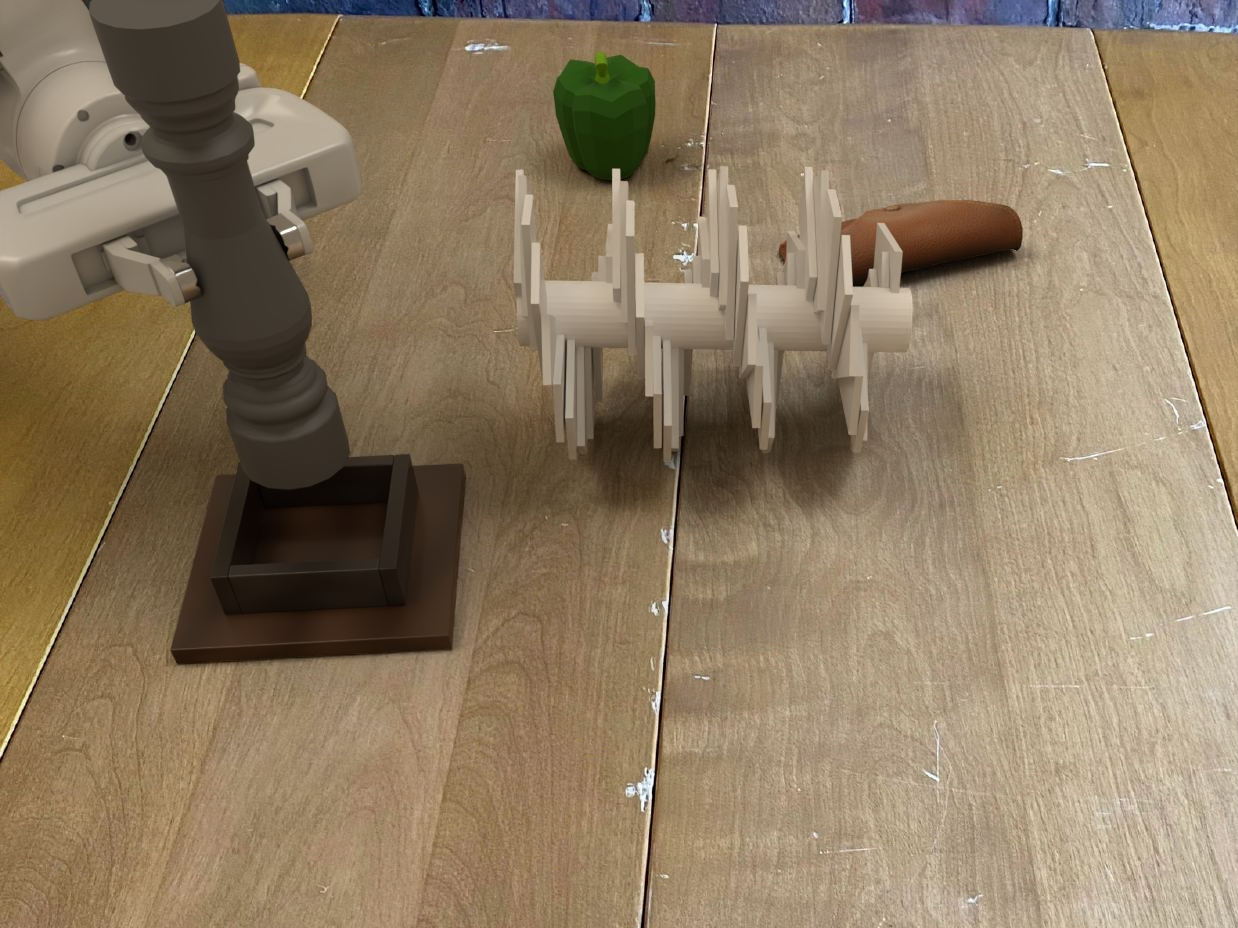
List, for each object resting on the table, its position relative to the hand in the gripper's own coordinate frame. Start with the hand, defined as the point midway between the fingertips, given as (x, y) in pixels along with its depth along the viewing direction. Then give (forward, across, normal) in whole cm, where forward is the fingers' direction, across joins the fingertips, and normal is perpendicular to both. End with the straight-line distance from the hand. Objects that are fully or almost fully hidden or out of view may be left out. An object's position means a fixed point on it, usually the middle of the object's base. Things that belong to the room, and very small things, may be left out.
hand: (244, 266), depth 71 cm
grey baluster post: (-1, 0, +13) cm, 13 cm away
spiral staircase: (+5, +27, +21) cm, 35 cm away
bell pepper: (-29, +44, +21) cm, 56 cm away
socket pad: (0, 0, +21) cm, 21 cm away
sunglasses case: (-2, +52, +21) cm, 56 cm away
